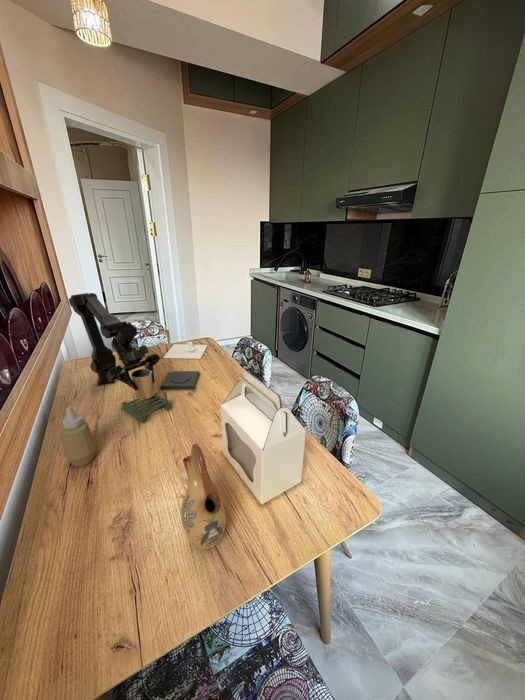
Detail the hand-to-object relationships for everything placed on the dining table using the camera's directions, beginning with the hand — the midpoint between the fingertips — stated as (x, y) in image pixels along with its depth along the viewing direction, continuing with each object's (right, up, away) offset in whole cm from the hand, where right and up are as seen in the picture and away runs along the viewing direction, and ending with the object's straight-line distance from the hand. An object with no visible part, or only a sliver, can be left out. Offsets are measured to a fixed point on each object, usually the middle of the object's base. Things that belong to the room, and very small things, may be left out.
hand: (145, 386), depth 106 cm
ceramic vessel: (+30, -29, -41) cm, 58 cm away
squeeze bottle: (-10, -19, -20) cm, 30 cm away
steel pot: (-1, -3, +2) cm, 4 cm away
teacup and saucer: (0, +13, +57) cm, 58 cm away
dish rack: (-1, -9, +5) cm, 10 cm away
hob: (+6, -1, +24) cm, 25 cm away
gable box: (+42, -21, -22) cm, 52 cm away
